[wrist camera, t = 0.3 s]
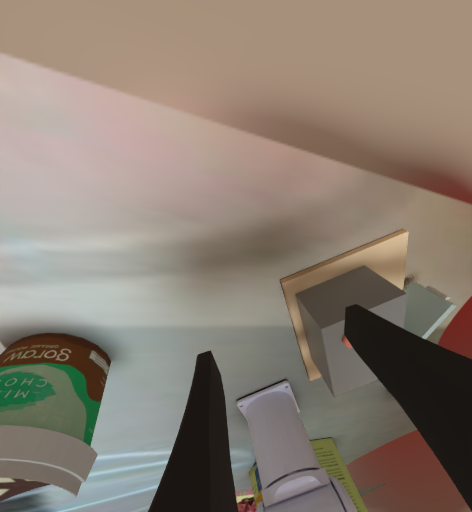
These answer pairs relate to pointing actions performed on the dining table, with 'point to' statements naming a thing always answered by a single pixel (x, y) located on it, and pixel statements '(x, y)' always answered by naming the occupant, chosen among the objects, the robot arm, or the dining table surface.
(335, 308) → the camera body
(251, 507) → the plate of assorted food
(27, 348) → the food container
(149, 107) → the dining table surface
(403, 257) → the beech board
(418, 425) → the robot arm
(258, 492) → the protein box
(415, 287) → the grey-green rectangular block
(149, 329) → the dining table surface
